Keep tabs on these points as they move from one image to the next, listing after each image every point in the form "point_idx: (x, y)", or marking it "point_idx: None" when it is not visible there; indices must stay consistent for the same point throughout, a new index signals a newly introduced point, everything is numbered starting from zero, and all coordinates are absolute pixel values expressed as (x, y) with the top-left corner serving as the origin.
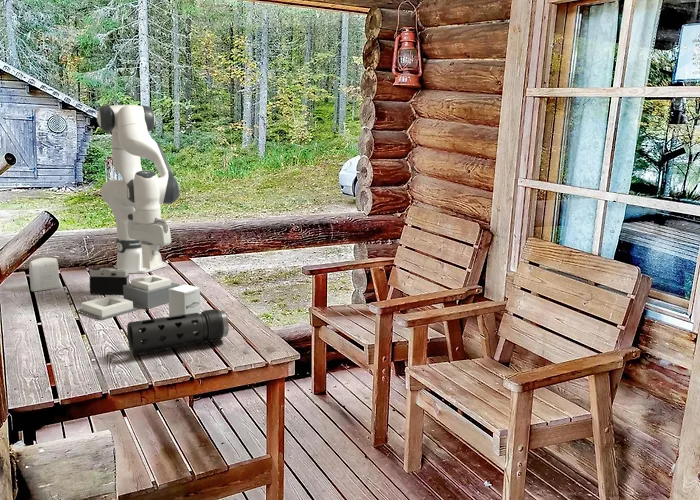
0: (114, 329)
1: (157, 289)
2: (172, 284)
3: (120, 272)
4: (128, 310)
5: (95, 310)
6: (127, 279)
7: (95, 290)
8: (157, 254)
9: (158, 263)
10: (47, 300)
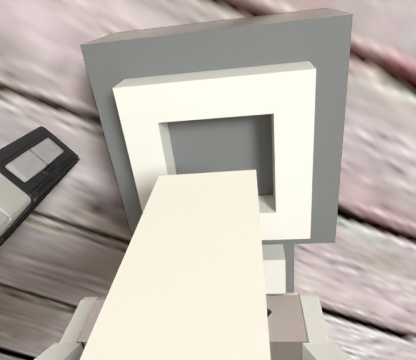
0: (393, 347)
1: (329, 181)
2: (317, 54)
3: (2, 231)
4: (290, 260)
5: None
6: (26, 175)
7: (4, 241)
8: (316, 302)
9: (256, 191)
10: (7, 332)
